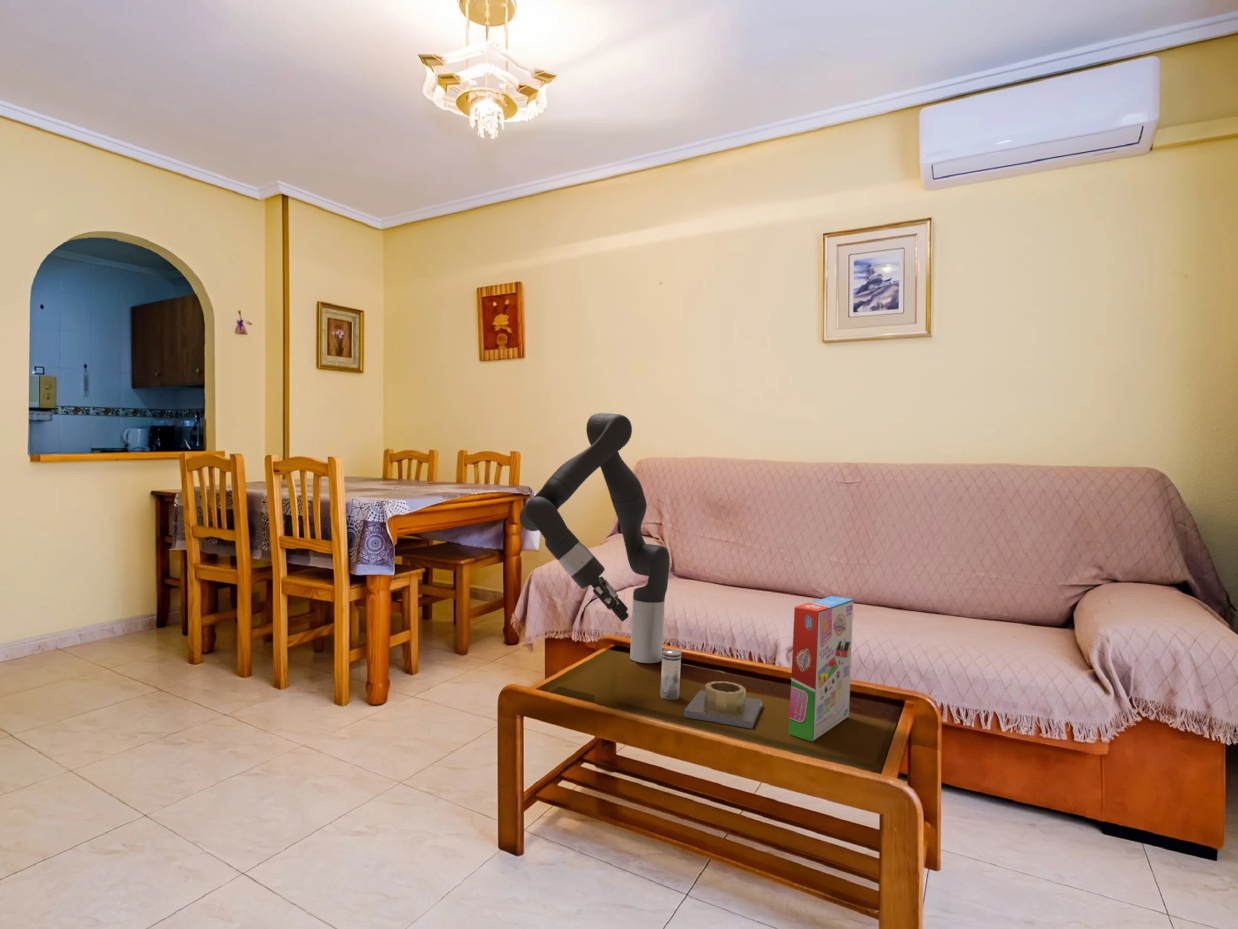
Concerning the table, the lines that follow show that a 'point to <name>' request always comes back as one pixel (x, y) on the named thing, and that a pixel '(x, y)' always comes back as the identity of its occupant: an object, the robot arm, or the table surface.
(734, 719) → the tan pot on tray
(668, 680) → the piston
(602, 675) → the table surface
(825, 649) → the game box
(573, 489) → the robot arm
